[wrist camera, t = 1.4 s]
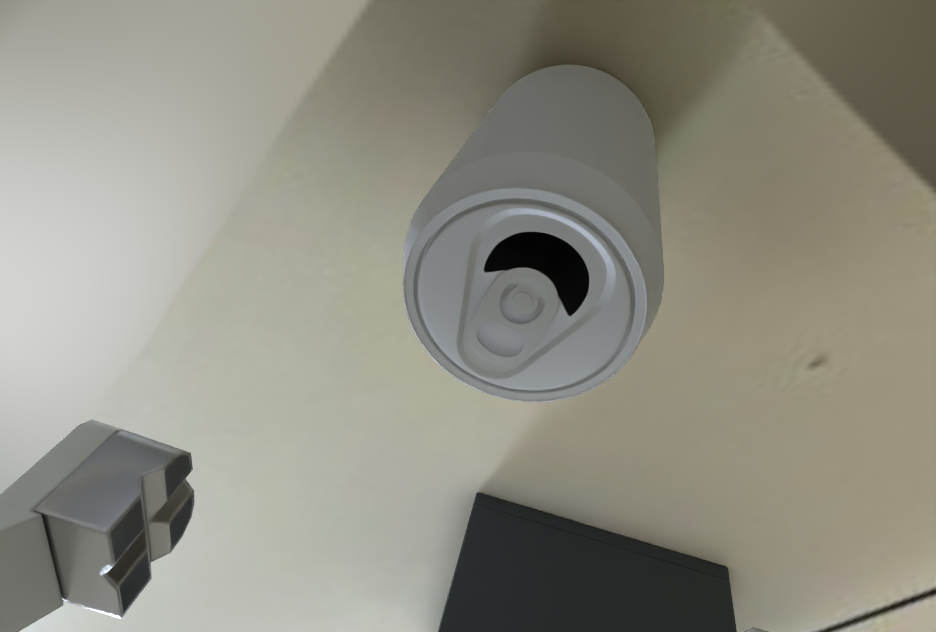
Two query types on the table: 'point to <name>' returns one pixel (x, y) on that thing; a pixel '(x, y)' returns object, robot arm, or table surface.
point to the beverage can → (541, 241)
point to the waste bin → (576, 579)
